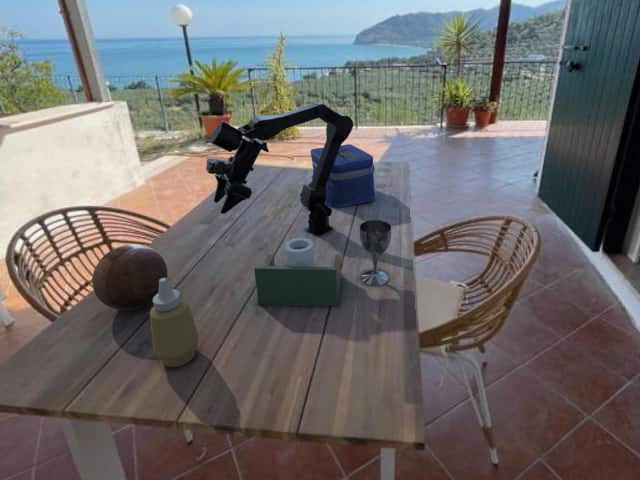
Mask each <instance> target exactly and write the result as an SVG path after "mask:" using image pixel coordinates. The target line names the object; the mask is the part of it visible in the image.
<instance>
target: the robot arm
mask: <svg viewBox="0 0 640 480" xmlns="http://www.w3.org/2000/svg"><path fill="white" fill-rule="evenodd" d="M317 119H319V120H321V121H322V122H324V123H326V127H325V135H326V136H325V137H326V139H325V142H324V146H323V147H324V148H323V147H322V148H323V151H322V154H321V157H320V160H319V163H318V165H317V168H316V171H315V174H314V177H313V180H312V179H311V181H310V183H308V184H303V185H302V189H301V193H300V194H299V197H300V200H299V201H300V203H301V205H302V206H303V207H304V208H305V209H306V210H307V211H309V214H308V221H307V222H308V227H307V228H306V229H305V231H307V232H309V233H311V234H314V235H316V236H317V235H318V236H322V235H324V234H326V233H328V232H330V231H331V230H333V228H334V227H333V226H331V225H330V217H331V215H332V214H333V213H332V212H333V209H332V208H331V207H330V206H329V205H327V204H326V203H325V202H326V185H327V182H328V179H329V177H330V174H331V171H332V168H333V165H334V163H335V160H336V157H337V154H338V151H339V149H340V146H341V145H343V144H344V142H345V141H346V140H347V139H348V138H349V136H350V135H351V133H352V130H353V128H354V122H353V119H352V118H351V117H350V116H349V115H346V114H342V113H339V112H336V111H334V110H333V109H331V108H329V107H328V106H327V105H325V104H323V103H321V102H313V104H309V105H306V106H303V107H300V108H297V109H293V110H290V111H287V112H284V113H280V114H275V115H274V114H273V115H259V116H253V117H251V118H250V120H249V121H248V123H246V124H244V125H241V126H240V127H238V128H236V127H235V126H232V125H231V124H229V123H228V122H226V121H224V120H221V121H220V123H219V124H218V125H217V126H216V128H214V129H213V131H212V133H211V134H210V137H209V143H210V144H211V145H213V146H216V147H218V148H220V149H222V150H225V151H226V152H228V153H232V152H233V151H234V152H235V153H234V155H231V156H229V158H227V159H221V158H210V157H209V158H207V159H206V164H205V165H206V166H205V171H207V173H208V174H210V175H214V177H215V180H216V182H217V183H216V188H215V193H214V196H213V197H214V198H213V202H214V203H215V204H218V203H219V202H220V201H221V200H222V199H223V198H224V197H225V198H224V201H223V203H222V207H221V209H220V214H222V215H225V214H227V213H228V212H229V211H230V210H232V209H233V208H234V207H236V206H238V205H239V204H241V203H242V202H244V201H246V200H250V198H251V196H252V194H253V190H252V188H251V187H250V186H249V185H248V184H247V183H248V180H247V178H248V176H249V174H250V172H254V170H255V167H254V164H255V162H256V161H257V159H258V157H259V155H260V153H261V151H263V152H265V153H269V152H270V150H269V148H268V143H267V142H266V141H268V140H270V139H272V138H274V137H275V136H278V135H279V134H280V133H281V132H282V131H284V130H286V129H290V128H293V127H295V126H298V125H302V124H305V123H308V122H310V121H314V120H317ZM256 139H257V140H256ZM260 141H261V142H260Z"/></svg>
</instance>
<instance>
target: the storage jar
mask: <svg viewBox="0 0 640 480" xmlns="http://www.w3.org/2000/svg"><path fill="white" fill-rule="evenodd" d="M314 249H315V248H314V241H312V240H311V239H309V238H305V237H296V238H293V239H290V240H288V241H287V242H285V243H284V257H285V258H284V259H285V266H294V267H315V251H314Z"/></svg>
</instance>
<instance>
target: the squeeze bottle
mask: <svg viewBox="0 0 640 480" xmlns="http://www.w3.org/2000/svg"><path fill="white" fill-rule="evenodd" d="M152 304H153V306H152V307H151V309H150V311H149V320H150V331H151V341H152V348H153V353H154V354H155V356H156V357H157V358H158V359H159V360H160V362H162V364H163V365H164V366H166V367H167V368H178V367H182V366H184V365H186V364H188V363H189V362H190V361H192V360H193V359H194V357H195V355H196V351H197V346H198V341H199V333H198V329H197V327H196V324H195V320H194V318H193V315H192V312H191V309H190V306H189V302H188V301H187V300H186V299H184V298H183V297H182V295H181V293H180V290H177V289H173V288H172V287H171V285H170V283H169V281H168V278H167V279H166V278H161V279H160V280H159V293H158V294H157V295H156V296H155V297H154V298H153V301H152Z"/></svg>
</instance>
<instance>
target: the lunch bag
mask: <svg viewBox="0 0 640 480" xmlns="http://www.w3.org/2000/svg"><path fill="white" fill-rule="evenodd" d="M323 148H324V146H323V147H315V148H311V149H310V151H309V152H310V158H311V164H312V175H311V181H312V180H313V177H314V174H315V171H316V168H317V165H318V163H319V160H320V157H321V154H322V151H323ZM374 173H375V165H374V156H373V155H372V154H370V153H368V152H366V151H364V150H363V149H361V148H359V147H357V146H355V145H353V144H351V143H349V144H348V143H347V144H341V146H340V149H339V151H338V154H337V157H336V160H335V163H334V165H333V168H332V171H331V174H330V177H329V179H328V182H327V185H326V202H325V205H327V206H328V207H334V208H338V207H348V206H353V205H359V204H364V203H369V202H372V201H374V200H375V196H376V193H375V175H374Z"/></svg>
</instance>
